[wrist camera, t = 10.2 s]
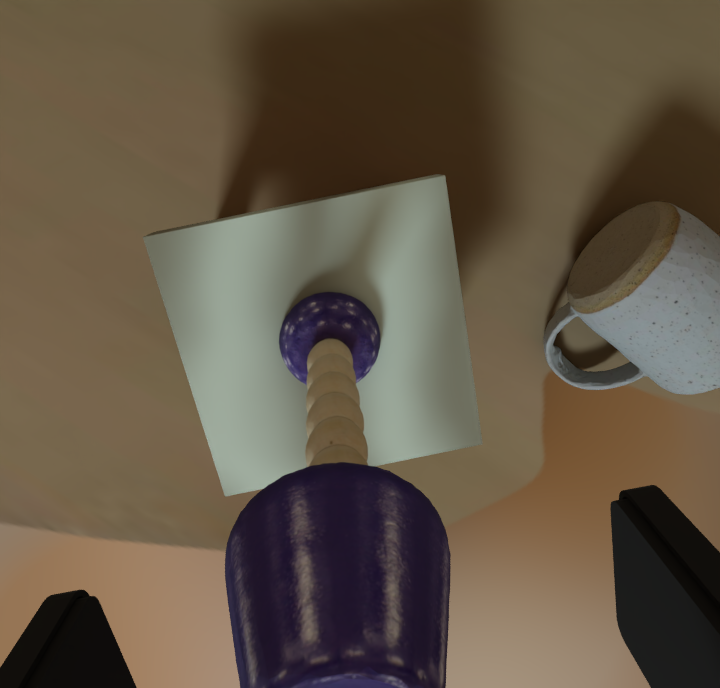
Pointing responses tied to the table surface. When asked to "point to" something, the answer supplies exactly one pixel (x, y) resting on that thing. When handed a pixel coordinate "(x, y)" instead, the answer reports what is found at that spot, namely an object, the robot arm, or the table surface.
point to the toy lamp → (337, 537)
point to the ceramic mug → (647, 301)
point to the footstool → (300, 280)
